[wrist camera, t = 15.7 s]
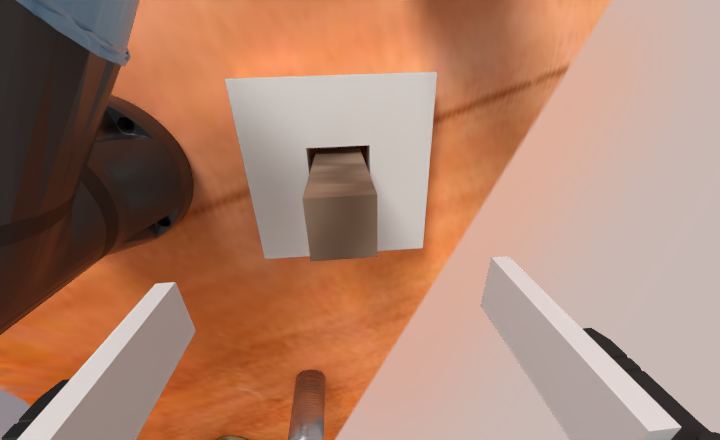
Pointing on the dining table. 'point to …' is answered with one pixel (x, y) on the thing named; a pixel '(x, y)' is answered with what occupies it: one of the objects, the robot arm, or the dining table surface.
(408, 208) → the socket plate
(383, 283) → the dining table surface
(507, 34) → the dining table surface
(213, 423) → the dining table surface
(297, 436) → the round peg
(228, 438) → the mug
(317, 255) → the square peg
